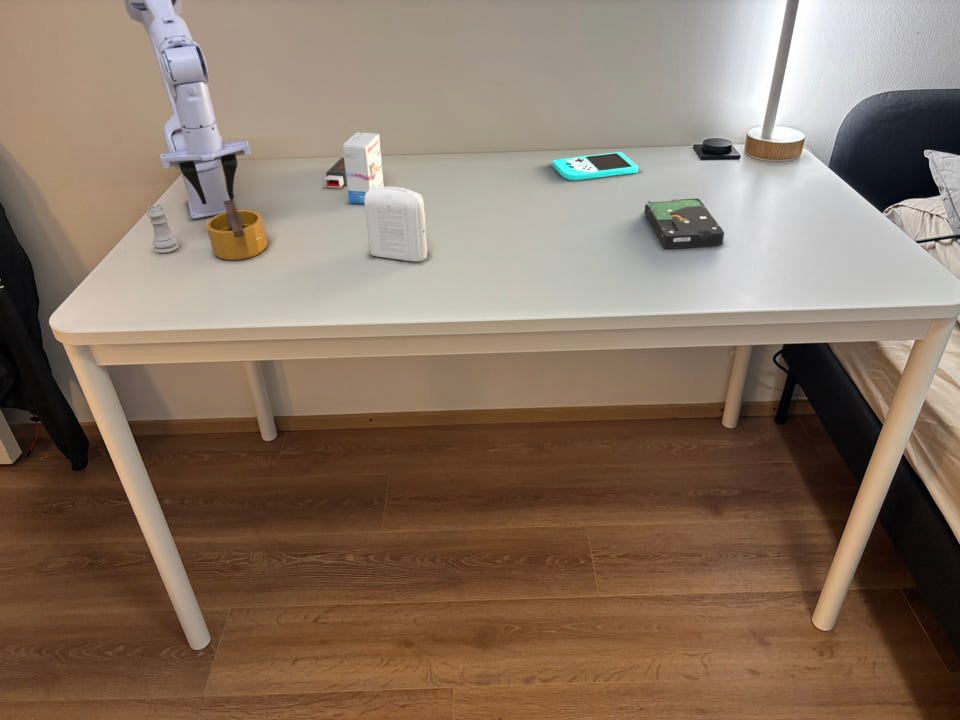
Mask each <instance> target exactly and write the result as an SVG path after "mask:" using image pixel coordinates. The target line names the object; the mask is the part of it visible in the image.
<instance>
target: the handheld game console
mask: <svg viewBox="0 0 960 720" xmlns="http://www.w3.org/2000/svg"><path fill="white" fill-rule="evenodd" d="M551 165H552V167H553V168H554V169H555V170H556V172H558V174H559V175H560V176H561V177H562V178H564V179H566V180H569V181H581V180H589V179H598V178H604V177H606V178H607V177H613V176H620V175H621V176H622V175H629V174H635V173H636V174H637V173H638V172H639V166H638V165H637V164H636V163H634V162H633V161H632V160H631V159H630V158H629V157H627V156H626V154H624V153H623V152H621V151H617V152H609V153H601V154H592V155H585V156H576V157H575V156H574V157H567V158H560V159H553V160H552V164H551Z"/></svg>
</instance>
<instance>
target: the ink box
mask: <svg viewBox="0 0 960 720" xmlns="http://www.w3.org/2000/svg"><path fill="white" fill-rule="evenodd" d="M342 155H343V158H344V164H345V172H346V179H347V185H346V186H347V194H348V203H349V204H358V205H359V204H360V205H365V204H364V201H365V194H366V192H367V191H369V189H372V188H376V187H385V185H384V174H383V162H382V151H381V142H380V134H379V133H372V132H371V133H370V132H362V131H359V132H357V131H356V132H355V133H353V135H351V136H350V137H349V138H348V139H347V140H346V141H345V142H343V144H342Z"/></svg>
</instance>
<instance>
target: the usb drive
mask: <svg viewBox="0 0 960 720" xmlns="http://www.w3.org/2000/svg"><path fill="white" fill-rule="evenodd" d="M325 176H326V177H325V178H324V187H325V188H335V189H336V188H337V189H341V188H342V187H343V186H347V179H346V172H345V164H344V157H341V158H340V159H338V161H336V162H335V163H334V164H333V165H332V166H331V167H330V168H329V169H328V170H327V171H326V172H325Z"/></svg>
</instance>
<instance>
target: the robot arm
mask: <svg viewBox="0 0 960 720" xmlns="http://www.w3.org/2000/svg"><path fill="white" fill-rule="evenodd" d="M122 2H123V5H124V8H125V10H126V13H127V14H128V16H129V19H130V20H133V21H134V22H139V23H140V24H141V25H142V27H143V28H144V30H145V32H146V33H147V35H148V37H149V41H150V43H151V46H152V50H153V53H154V57H155V60H156V63H157V67H158V69H159V73H160V76H161V79H162V83H163V86H164V90H165V92H166V96H167V99H168V102H169V105H170V109H171V112H172V115H171V116H170V117H169V119H168V120H167V121H166V123H164V125H163V127H162V128H163V129H162V134H163V138H164V143H165V147H166V150H167V152H166V153H160V155H159V156H160V161H161V165H162V169H164V170H167V169H171V167H173V168H175V169H176V170H180V172H181V176H182V179H183V183H184V186H185V190H186V193H187V197H188V200H187V204H188V208H189V209H188V210H189V213H190V217H191V219H192V220H196V219H203V218H207V217H208V218H209V217H214V216H216V215H219V214H221V213H224V212H226V209H225V206H224V202H223V201H227V200H234V199H235V197H234V183H235V176H236V171H237V168H238V159H237V157H238V156H246V157H247V156H251V155H252V152H251V147H250V144H249V141H248V140H241V141H229V142H227V141H226V142H223V138H222V135H221V132H220V131H219V128H218V123H217V120H216V115H215V110H214V107H213V103H212V99H211V94H210V90H209V86H208V82H209V80H210V79H209V69H208V65H207V60H206V58H205V54H204V53H203V50H202V48H201V46H200V44H199V43H197V41H195V40H193V37H192V35H191V33H190V30H189V27H188V25H187V23H186V21H185V20H184V19H183V18H182V17H181V16H179V15H180V14H182V7H183V2H182V0H122ZM221 167H222V168H221ZM222 170H223V173H222ZM223 174H224V176H223ZM224 179H225V180H224Z"/></svg>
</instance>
